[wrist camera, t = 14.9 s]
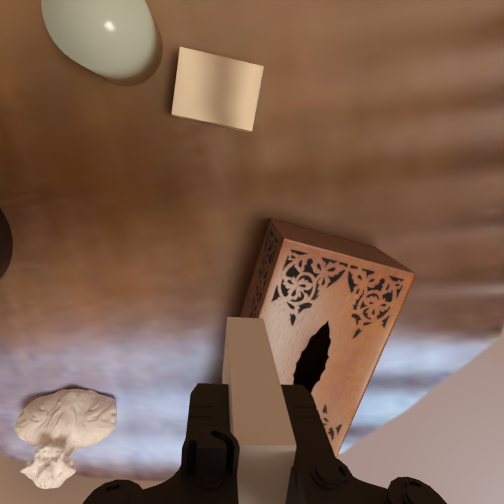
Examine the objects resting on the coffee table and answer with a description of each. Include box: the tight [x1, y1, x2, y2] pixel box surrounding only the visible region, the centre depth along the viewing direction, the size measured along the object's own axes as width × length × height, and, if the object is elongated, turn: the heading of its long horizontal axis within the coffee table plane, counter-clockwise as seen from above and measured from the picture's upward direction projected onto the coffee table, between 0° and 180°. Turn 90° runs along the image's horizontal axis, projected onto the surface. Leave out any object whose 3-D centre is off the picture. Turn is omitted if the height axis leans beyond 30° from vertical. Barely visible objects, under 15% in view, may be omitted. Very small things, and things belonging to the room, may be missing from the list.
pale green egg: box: [41, 0, 163, 86], centre depth 33 cm, size 8×8×9 cm
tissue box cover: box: [219, 218, 416, 457], centre depth 44 cm, size 26×14×10 cm, turn 164°
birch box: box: [172, 47, 264, 133], centre depth 37 cm, size 8×6×5 cm
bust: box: [15, 389, 117, 489], centre depth 45 cm, size 12×8×11 cm
